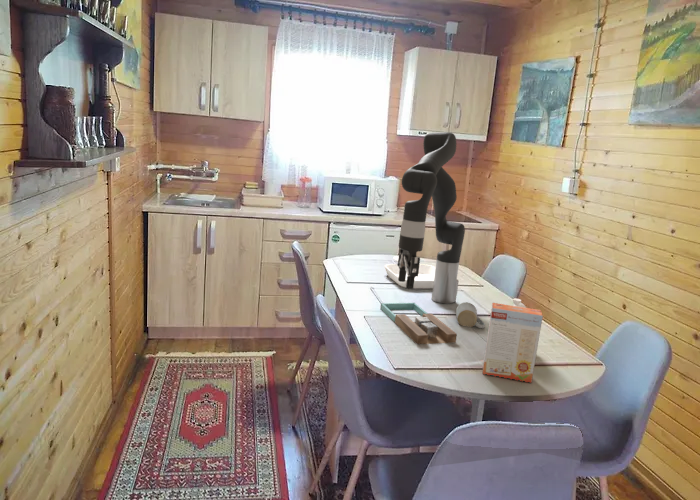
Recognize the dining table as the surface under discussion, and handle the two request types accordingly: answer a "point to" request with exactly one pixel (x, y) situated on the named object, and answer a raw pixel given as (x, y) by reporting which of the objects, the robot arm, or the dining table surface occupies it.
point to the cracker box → (512, 342)
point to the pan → (420, 282)
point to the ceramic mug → (468, 315)
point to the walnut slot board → (420, 336)
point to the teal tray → (400, 308)
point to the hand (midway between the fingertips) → (405, 284)
